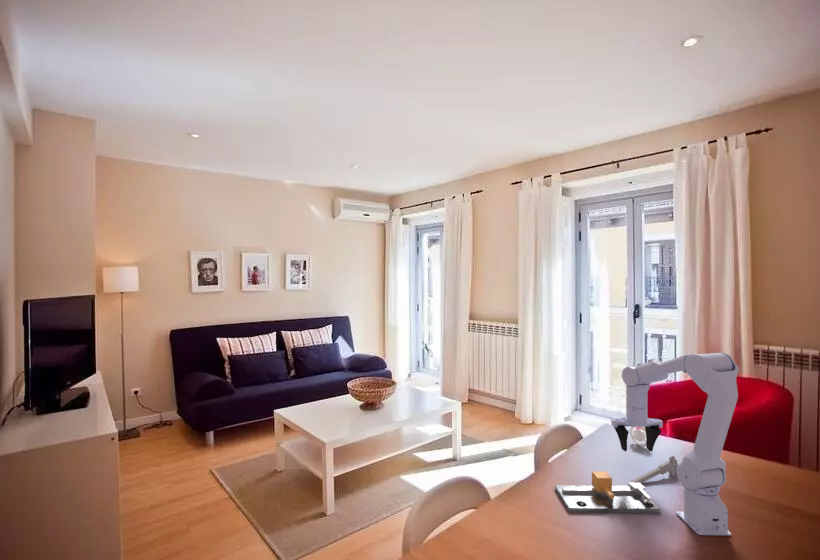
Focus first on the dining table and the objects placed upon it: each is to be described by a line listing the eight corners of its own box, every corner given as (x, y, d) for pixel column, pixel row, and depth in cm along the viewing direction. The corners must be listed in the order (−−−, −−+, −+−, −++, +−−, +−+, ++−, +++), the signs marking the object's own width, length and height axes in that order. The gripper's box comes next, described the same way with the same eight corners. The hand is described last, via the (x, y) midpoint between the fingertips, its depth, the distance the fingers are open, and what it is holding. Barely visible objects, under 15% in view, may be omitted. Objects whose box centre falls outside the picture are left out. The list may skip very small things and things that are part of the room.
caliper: (674, 474, 134) (674, 454, 134) (677, 475, 133) (677, 456, 133) (627, 486, 126) (627, 465, 126) (630, 488, 125) (630, 467, 125)
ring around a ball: (653, 449, 152) (653, 427, 152) (642, 452, 150) (642, 429, 149) (633, 441, 159) (633, 420, 159) (622, 443, 157) (623, 422, 157)
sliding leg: (619, 504, 114) (619, 486, 113) (604, 504, 114) (604, 486, 114) (605, 488, 122) (605, 471, 122) (591, 487, 122) (591, 471, 122)
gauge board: (660, 513, 112) (660, 500, 112) (569, 512, 113) (569, 499, 112) (637, 489, 124) (637, 478, 124) (555, 489, 125) (555, 477, 124)
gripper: (654, 401, 132) (653, 444, 132) (607, 401, 132) (607, 444, 133) (666, 409, 125) (666, 454, 125) (617, 408, 125) (617, 453, 126)
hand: (636, 449), depth 128 cm, fingers open, 7 cm apart
